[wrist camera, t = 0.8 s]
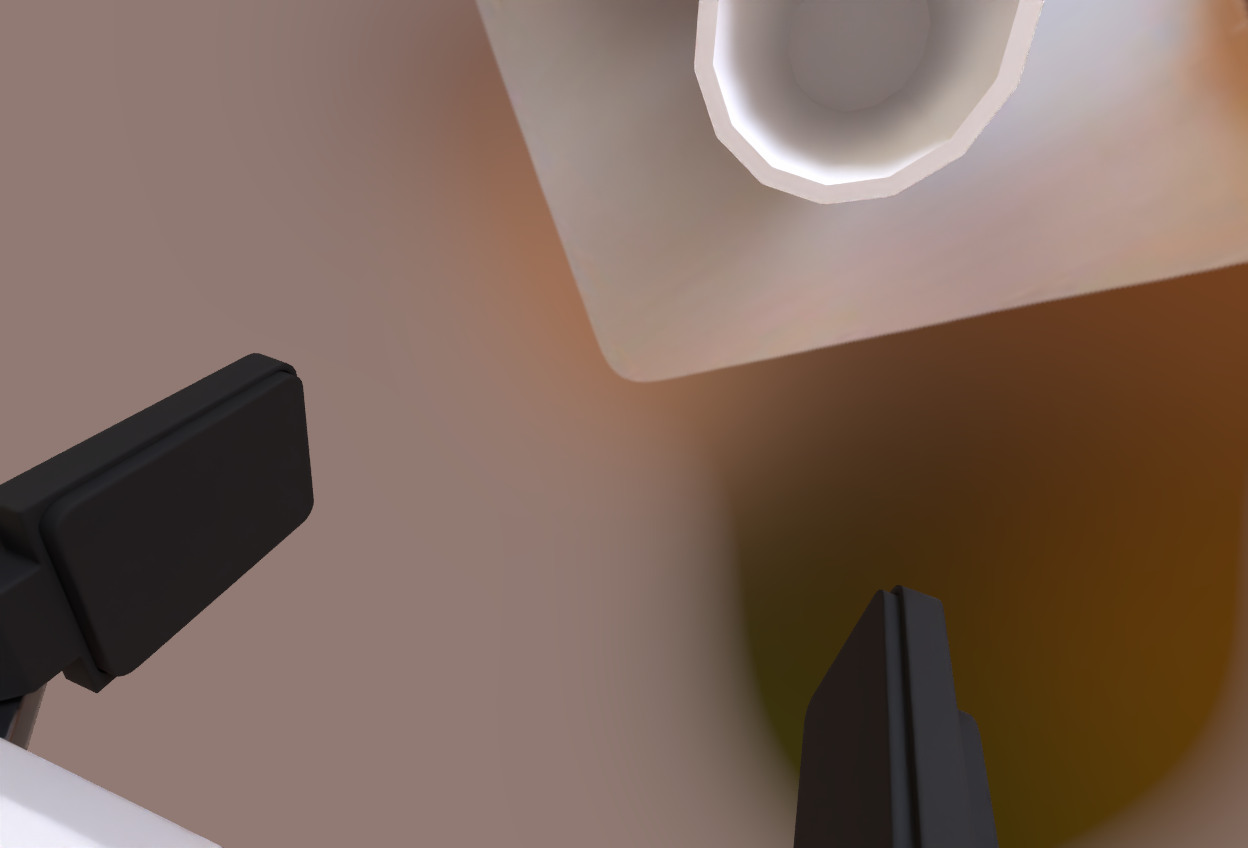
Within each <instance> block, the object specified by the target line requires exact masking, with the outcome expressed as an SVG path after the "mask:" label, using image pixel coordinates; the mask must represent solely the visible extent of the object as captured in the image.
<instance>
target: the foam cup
mask: <svg viewBox="0 0 1248 848" xmlns="http://www.w3.org/2000/svg"><path fill="white" fill-rule="evenodd" d="M1043 4H1044V0H699V9H698V22H697V35H696V48H695V60H694V70H695V73H696V77H697V80H698V83H699V86H700V89H701V92H702V95H703V98H704V101H705V104H706V107H707V110H708V113H709V116H710V119H711V122H712V125H713V128H714V131H715V134H716V137H717V138H718V139H719V140H720V141H721V142H722V143H723V144H724V145H725V146H726V147H727V148H728V149H729V150H730V151H731V152H732V153H733V155H734V156H735V157H736V158H737V159H738V160H739V161H740V162H741V163H742V164H743V165H744V166H745V167H746V168H747V169H748V170H749V171H750V172H751V173H752V174H753V175H754V176H755V177H756V178H757V180H758V181H759V182H760V183H761V184H764V185H767V186H770V187H772V188H775V189H778V190H781V191H784V192H787V193H790V194H793V195H796V196H799V197H802V198H805V199H808V200H811V201H813V202H816V203H819V204H822V205H826V204H834V203H842V202H850V201H858V200H866V199H874V198H882V197H890V196H894V195H896V194H898V193H899V192H901V191H903V190H905V189H906V188H908V187H910V186H911V185H913V184H915V183H917V182H918V181H920V180H922V179H923V178H925V177H927V176H929V175H930V174H932V173H934V172H935V171H937V170H939V169H940V168H942V167H944V166H946V165H947V164H949V163H951V162H952V161H954V160H956V159H958V158H959V157H961V156H963V155H964V153H965V152H966V151H967V149H968V148H969V147H970V146H971V144H972V143H973V142H974V141H975V139H976V138H977V137H978V136H979V134H980V133H981V132H982V131H983V129H984V128H985V127H986V126H987V124H988V123H989V122H990V121H991V119H992V118H993V117H994V116H995V114H996V113H997V112H998V111H999V109H1000V108H1001V107H1002V106H1003V104H1004V103H1005V102H1006V100H1007V99H1008V98H1009V97H1010V95H1011V94H1012V93H1013V92H1014V90H1015V89H1016V88H1017V87H1018V85H1019V82H1020V79H1021V76H1022V72H1023V69H1024V66H1025V62H1026V59H1027V56H1028V53H1029V49H1030V46H1031V43H1032V40H1033V36H1034V33H1035V30H1036V26H1037V23H1038V20H1039V17H1040V13H1041V10H1042V7H1043Z"/></svg>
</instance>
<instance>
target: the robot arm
mask: <svg viewBox="0 0 1248 848" xmlns="http://www.w3.org/2000/svg"><path fill="white" fill-rule="evenodd" d="M306 425H307V424H306V414H305V403H304V392H303V385H302V381H301V380H300V378H298V377H297V374H296V371H295V369H294V368H293V366H291V365H289V364H287V363H284V362H282V361H279V360H276V359H273V358H271V357H268V356H265V355H262V354H259V353H258V354H257V353H253V354H250V355H247V356H245V357H243V358H241V359H239V360H238V361H236V362H234V363H232V364H230V365H228V366H226V367H224V368H222V369H220V370H218V371H217V372H215V373H213V374H211V375H209V376H207V377H205V378H203V379H201V380H199V381H197V382H196V383H194V384H192V385H190V386H188V387H186V388H184V389H182V390H180V391H179V392H176V393H175V394H173V395H171V396H169V397H167V398H165V399H163V400H161V401H159V402H157V403H156V404H154V405H152V406H150V407H148V408H146V409H144V410H142V411H140V412H138V413H137V414H135V415H133V416H131V417H129V418H127V419H125V420H123V421H121V422H119V423H117V424H115V425H114V426H112V427H110V428H108V429H106V430H104V431H102V432H100V433H98V434H96V435H94V436H93V437H91V438H89V439H87V440H85V441H83V442H81V443H80V444H77V445H75V446H74V447H72V448H70V449H68V450H66V451H64V452H62V453H60V454H58V455H56V456H55V457H53V458H51V459H49V460H47V461H45V462H43V463H41V464H39V465H37V466H35V467H33V468H32V469H30V470H28V471H26V472H24V473H22V474H20V475H18V476H16V477H14V478H13V479H11V480H9V481H7V482H5V483H3V484H1V485H0V848H223V847H221V846H219V845H217V844H215V843H213V842H211V841H209V840H207V839H205V838H203V837H201V836H199V835H197V834H195V833H193V832H191V831H189V830H187V829H185V828H183V827H181V826H179V825H177V824H175V823H173V822H171V821H169V820H167V819H165V818H163V817H161V816H159V815H157V814H155V813H153V812H151V811H149V810H147V809H145V808H143V807H141V806H139V805H137V804H135V803H133V802H131V801H128V800H127V799H125V798H122V797H120V796H118V795H116V794H114V793H112V792H110V791H108V790H106V789H104V788H102V787H100V786H98V785H96V784H94V783H92V782H90V781H88V780H86V779H84V778H82V777H80V776H78V775H76V774H74V773H71V772H70V771H68V770H65V769H63V768H61V767H59V766H57V765H55V764H53V763H51V762H49V761H47V760H45V759H43V758H41V757H39V756H37V755H35V754H33V753H31V752H29V751H27V748H28V745H29V741H30V738H31V735H32V732H33V728H34V725H35V722H36V718H37V715H38V712H39V708H40V705H41V701H42V698H43V695H44V691H45V688H46V685H47V682H48V681H50V680H51V679H52V678H53V677H54V676H56V675H57V674H58V673H60V672H61V671H63V673H64V675H65V678H66V679H68V680H70V681H72V682H74V683H77V684H78V685H80V686H83V687H85V688H87V689H89V690H91V691H93V692H95V693H98V692H99V691H101V690H102V689H103V688H104V687H105V686H106V685H107V684H109V683H110V682H111V681H112V680H113V679H114V678H116V677H117V676H124V675H126V674H128V673H131V672H132V671H133V670H135V669H136V668H137V667H139V666H140V665H141V664H142V663H143V662H144V661H145V660H146V659H148V658H149V657H150V656H151V655H152V654H153V653H155V652H156V651H157V650H158V649H159V648H160V647H161V646H162V645H164V644H165V643H166V642H167V641H168V640H169V639H171V638H172V637H173V636H174V635H175V634H176V633H177V632H179V631H180V630H181V629H182V628H183V627H184V626H185V625H187V624H188V623H189V622H190V621H191V620H192V619H193V618H194V617H196V616H197V615H198V614H199V613H200V612H201V611H203V610H204V609H205V608H206V607H207V606H208V605H209V604H211V603H212V602H213V601H214V600H215V599H216V598H217V597H218V596H220V595H221V594H222V593H223V592H224V591H225V590H227V589H228V588H229V587H230V586H231V585H232V584H233V583H235V582H236V581H237V580H238V579H239V578H240V577H241V576H242V575H243V574H245V573H246V572H247V571H248V570H249V569H251V568H252V567H253V566H254V565H255V564H256V563H257V562H259V561H260V560H261V559H262V558H263V557H264V556H265V555H266V554H268V553H269V552H270V551H271V550H272V549H273V548H274V547H276V546H277V545H278V544H279V543H280V542H281V541H282V540H284V539H285V538H286V537H287V536H288V535H289V534H291V532H292V531H294V530H295V529H296V528H297V527H299V526H300V525H301V524H302V523H303V522H304V521H305V520H306V519H307V517H308V516H309V514H310V512H311V510H312V507H313V503H314V499H313V488H312V477H311V467H310V457H309V446H308V435H307V426H306ZM794 848H999V846H998V840H997V834H996V829H995V823H994V816H993V810H992V804H991V798H990V792H989V786H988V780H987V774H986V768H985V763H984V756H983V750H982V745H981V738H980V733H979V730H978V726H977V723H976V722H975V720H974V719H973V717H972V716H971V715H969V714H967V713H965V712H962V711H960V710H958V709H957V704H956V696H955V689H954V682H953V674H952V667H951V660H950V652H949V645H948V638H947V631H946V624H945V616H944V610H943V605H942V602H941V601H940V600H939V599H937V598H934V597H931V596H928V595H925V594H923V593H920V592H917V591H914V590H912V589H909V588H906V587H903V586H900V585H897V586H895V587H894V588H893V589H892V590H891V592H890V593H889V592H886V591H884V590H879V591H877V592H876V594H875V595H874V596H873V598H872V600H871V601H870V603H869V605H868V606H867V608H866V610H865V611H864V613H863V615H862V616H861V618H860V620H859V621H858V623H857V624H856V626H855V628H854V629H853V631H852V633H851V634H850V636H849V637H848V639H847V641H846V642H845V644H844V646H843V647H842V649H841V650H840V652H839V654H838V655H837V657H836V659H835V660H834V662H833V664H832V665H831V667H830V668H829V670H828V672H827V673H826V675H825V677H824V678H823V680H822V682H821V683H820V685H819V686H818V688H817V690H816V691H815V693H814V695H813V696H812V698H811V700H810V703H809V705H808V708H807V711H806V716H805V722H804V733H803V743H802V755H801V767H800V779H799V790H798V802H797V814H796V825H795V837H794Z"/></svg>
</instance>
